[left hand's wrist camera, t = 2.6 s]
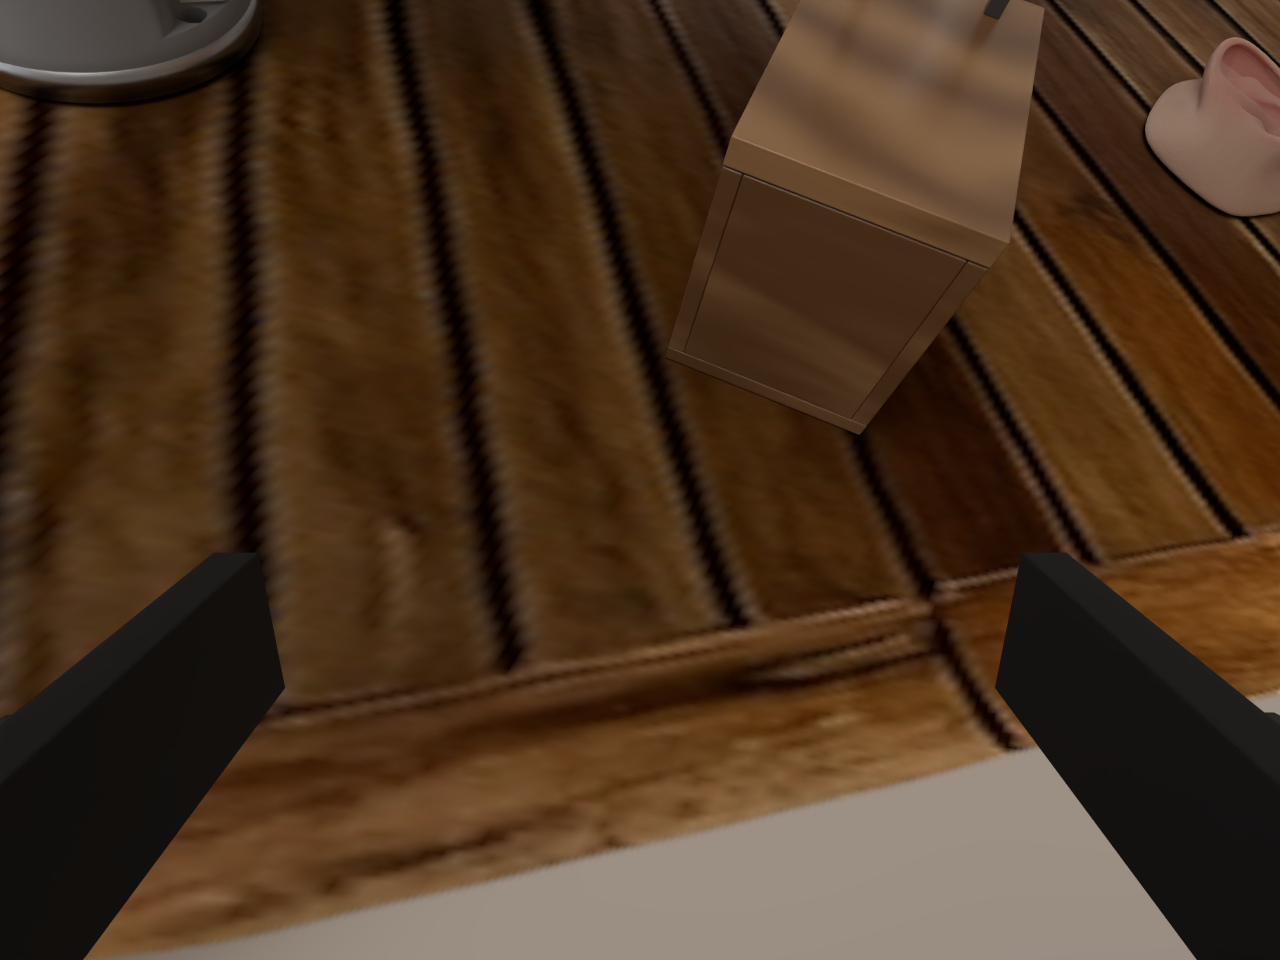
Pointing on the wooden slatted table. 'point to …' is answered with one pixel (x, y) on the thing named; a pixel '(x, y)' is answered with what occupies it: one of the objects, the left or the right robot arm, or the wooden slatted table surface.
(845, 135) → the lid
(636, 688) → the wooden slatted table surface
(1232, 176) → the anatomical model
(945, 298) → the chest
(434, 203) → the wooden slatted table surface
